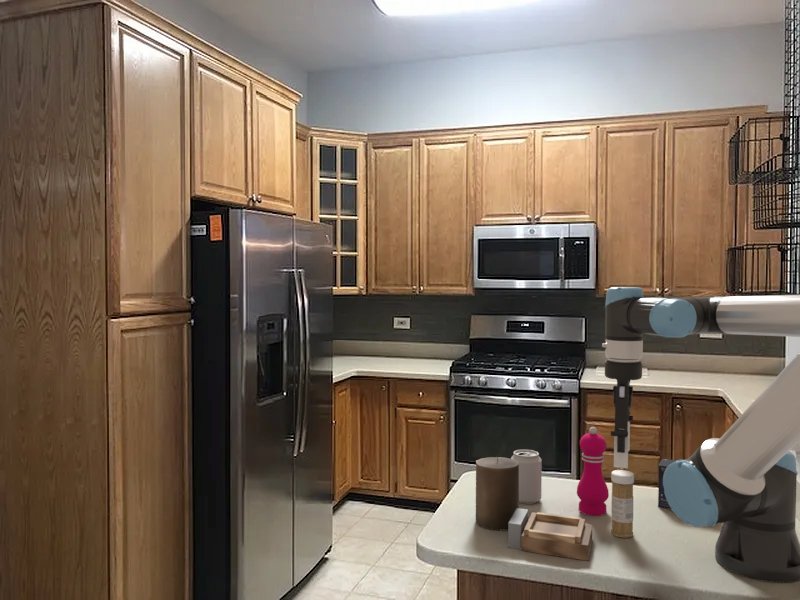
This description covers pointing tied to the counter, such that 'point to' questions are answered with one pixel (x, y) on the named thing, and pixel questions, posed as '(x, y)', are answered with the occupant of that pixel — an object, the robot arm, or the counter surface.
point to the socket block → (557, 536)
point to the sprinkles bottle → (622, 503)
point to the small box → (661, 495)
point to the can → (529, 475)
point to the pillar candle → (496, 491)
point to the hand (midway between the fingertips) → (621, 458)
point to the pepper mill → (592, 475)
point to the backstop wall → (517, 527)
